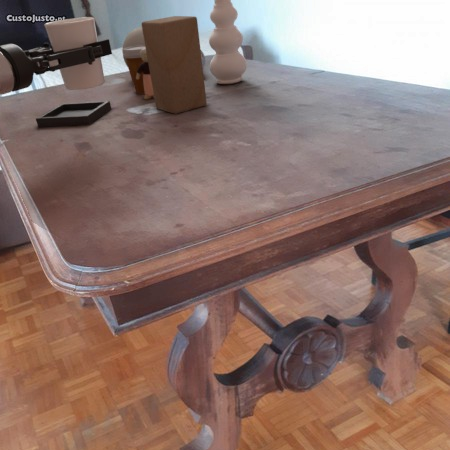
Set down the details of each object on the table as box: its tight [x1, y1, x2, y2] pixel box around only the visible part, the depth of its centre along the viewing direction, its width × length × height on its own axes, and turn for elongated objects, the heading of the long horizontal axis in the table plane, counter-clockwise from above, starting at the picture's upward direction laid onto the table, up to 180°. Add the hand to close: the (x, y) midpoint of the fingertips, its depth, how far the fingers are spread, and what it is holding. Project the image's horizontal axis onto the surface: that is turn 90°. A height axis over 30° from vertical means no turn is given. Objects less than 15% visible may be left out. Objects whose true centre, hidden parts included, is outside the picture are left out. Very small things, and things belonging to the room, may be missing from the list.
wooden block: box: [141, 15, 207, 115], centre depth 118 cm, size 10×10×20 cm
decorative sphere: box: [122, 26, 145, 68], centre depth 157 cm, size 15×15×15 cm
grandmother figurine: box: [136, 48, 155, 100], centre depth 133 cm, size 8×4×13 cm, turn 112°
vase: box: [208, 0, 248, 85], centre depth 135 cm, size 11×11×25 cm
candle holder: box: [43, 16, 105, 91], centre depth 97 cm, size 10×10×12 cm
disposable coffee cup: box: [122, 45, 146, 95], centre depth 140 cm, size 10×10×12 cm
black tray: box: [35, 100, 112, 128], centre depth 125 cm, size 14×14×2 cm
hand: (92, 46), depth 100 cm, fingers closed on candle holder, 9 cm apart
